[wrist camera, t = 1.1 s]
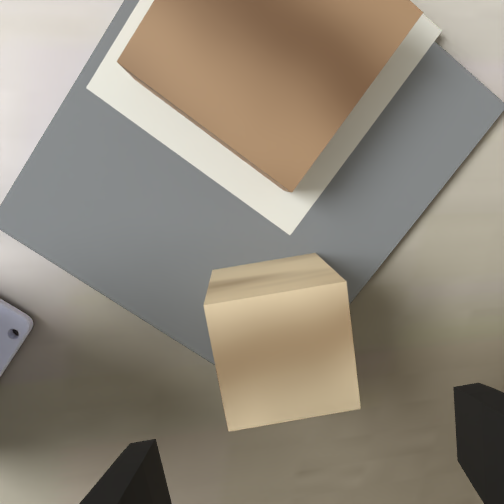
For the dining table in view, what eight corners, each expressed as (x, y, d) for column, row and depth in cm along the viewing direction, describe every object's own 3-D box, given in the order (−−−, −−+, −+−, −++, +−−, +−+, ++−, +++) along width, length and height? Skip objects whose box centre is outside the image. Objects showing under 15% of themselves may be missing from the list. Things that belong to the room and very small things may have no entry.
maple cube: (327, 348, 18) (360, 408, 14) (230, 364, 18) (228, 431, 14) (315, 252, 17) (346, 281, 13) (212, 269, 17) (203, 305, 13)
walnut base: (283, 190, 17) (292, 192, 14) (134, 80, 16) (116, 61, 13) (393, 38, 16) (423, 12, 13) (243, -93, 15) (245, -148, 12)
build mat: (271, 397, 19) (272, 401, 19) (-5, 222, 17) (-11, 223, 17) (508, 98, 17) (514, 96, 16) (224, -156, 14) (224, -166, 14)
